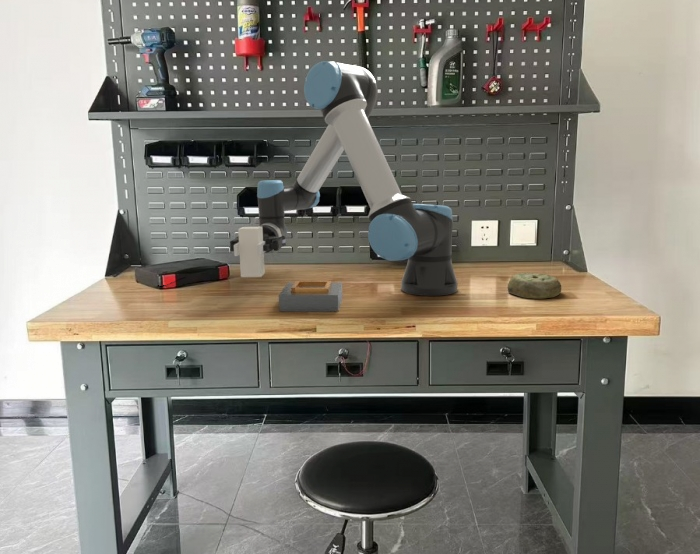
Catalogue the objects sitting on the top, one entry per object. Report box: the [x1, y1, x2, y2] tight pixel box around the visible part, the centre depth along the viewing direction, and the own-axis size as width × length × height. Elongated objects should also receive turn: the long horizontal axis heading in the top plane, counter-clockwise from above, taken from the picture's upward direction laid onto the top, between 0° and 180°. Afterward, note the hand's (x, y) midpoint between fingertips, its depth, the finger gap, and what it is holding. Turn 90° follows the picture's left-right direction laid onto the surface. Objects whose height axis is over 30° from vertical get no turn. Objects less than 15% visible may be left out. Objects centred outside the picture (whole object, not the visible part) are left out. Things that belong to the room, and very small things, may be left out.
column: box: [237, 226, 266, 278], centre depth 150 cm, size 5×5×12 cm
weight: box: [507, 272, 562, 300], centre depth 156 cm, size 14×14×5 cm
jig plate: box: [278, 280, 343, 313], centre depth 148 cm, size 14×14×5 cm
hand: (247, 250), depth 145 cm, fingers closed on column, 5 cm apart
